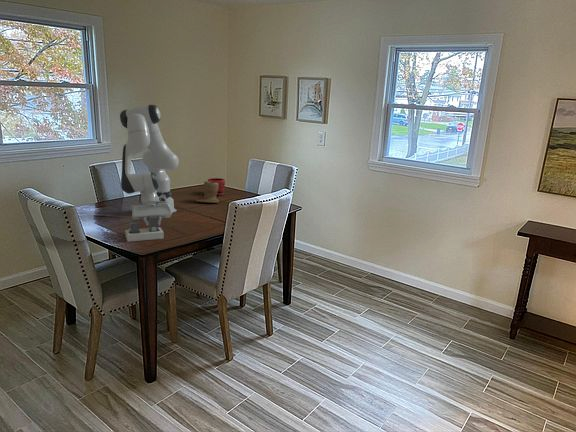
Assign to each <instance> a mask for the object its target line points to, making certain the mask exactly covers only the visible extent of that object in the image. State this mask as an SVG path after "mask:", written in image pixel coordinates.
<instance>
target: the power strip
mask: <svg viewBox="0 0 576 432" xmlns="http://www.w3.org/2000/svg"><path fill="white" fill-rule="evenodd" d="M139 227H140V225H139V221H130V222H129V227H128V228H127V229H125V238H126V240H127V242H128V243H129V242H141V241H151V240H163V239H164V237H165V235H164V234H165V233H164V231H163V229H162V227H160V226H158V231H156V232H149V227H147V228H139Z"/></svg>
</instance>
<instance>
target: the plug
mask: <svg viewBox="0 0 576 432" xmlns="http://www.w3.org/2000/svg"><path fill="white" fill-rule="evenodd" d="M158 221H159V219H158V217H157V216H150V217H149V219H148V222H150V226H148V228H149V232H156V231H158V227H159V225H158Z"/></svg>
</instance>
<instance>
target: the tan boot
mask: <svg viewBox="0 0 576 432" xmlns="http://www.w3.org/2000/svg"><path fill="white" fill-rule="evenodd" d="M218 187H219V184H218V183H216V182H209V181H208V180H205V181H204V182H203V192H204V193H203V196H199V197H197V198H196V202H197V203H209V204H210V203H211V204H214V203H215V204H217V203H219V202H220V200H219V199H218V198H217V196H216V195H217V192H218Z"/></svg>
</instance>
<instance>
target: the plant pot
mask: <svg viewBox="0 0 576 432" xmlns="http://www.w3.org/2000/svg"><path fill="white" fill-rule="evenodd" d="M207 181H209V182H216V183H218V184H219V187H218V192H217V195H220V196H223V195H224V194H225V192H224V190H225V187H226V186H225V185H226V179H224V178H219V177H217V178H216V177H214V178H213V177H211V178H208V179H207ZM217 195H216V197H218V196H217Z"/></svg>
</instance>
